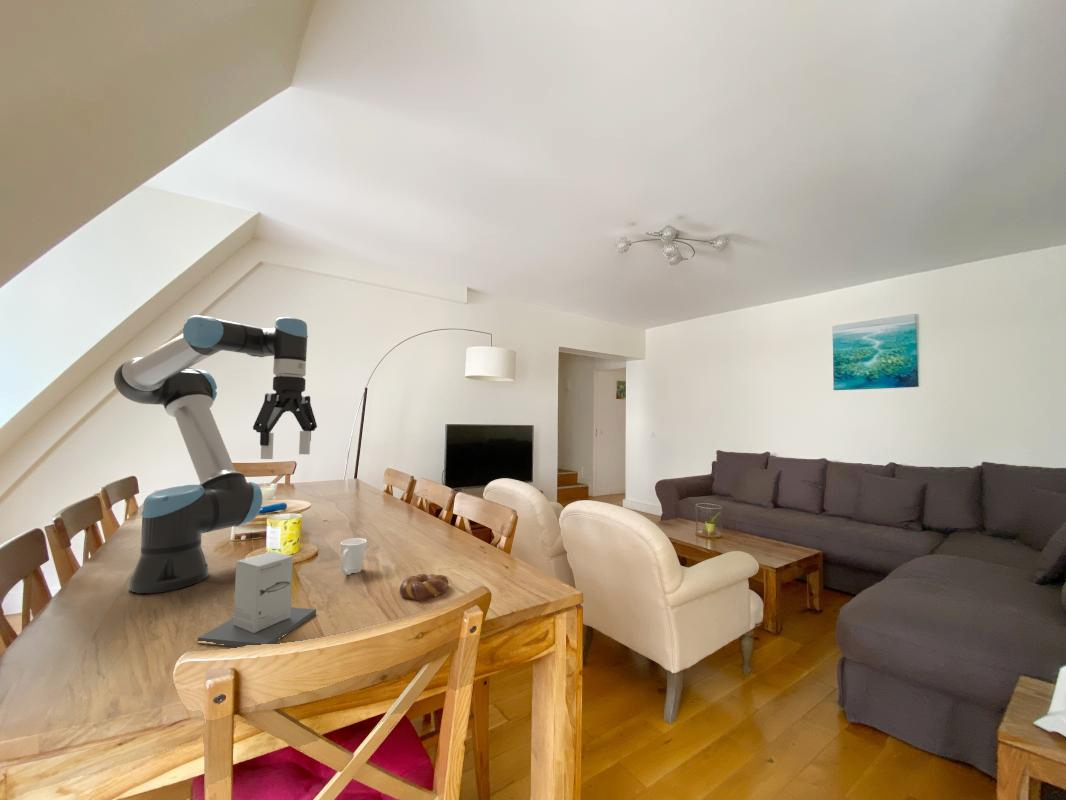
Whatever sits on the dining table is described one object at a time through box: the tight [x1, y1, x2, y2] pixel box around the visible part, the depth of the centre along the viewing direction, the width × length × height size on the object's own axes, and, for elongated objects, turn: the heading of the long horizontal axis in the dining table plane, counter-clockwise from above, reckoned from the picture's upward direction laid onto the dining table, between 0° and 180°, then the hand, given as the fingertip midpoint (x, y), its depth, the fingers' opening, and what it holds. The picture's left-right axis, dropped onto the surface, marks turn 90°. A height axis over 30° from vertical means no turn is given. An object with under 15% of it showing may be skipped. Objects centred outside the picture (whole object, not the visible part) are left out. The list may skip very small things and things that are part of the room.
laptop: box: [197, 606, 317, 648], centre depth 84 cm, size 14×14×1 cm
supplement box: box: [233, 550, 294, 633], centre depth 85 cm, size 7×7×13 cm
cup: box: [339, 537, 368, 576], centre depth 114 cm, size 7×10×8 cm
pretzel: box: [399, 573, 449, 601], centre depth 102 cm, size 12×11×4 cm
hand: (286, 456), depth 111 cm, fingers open, 13 cm apart
